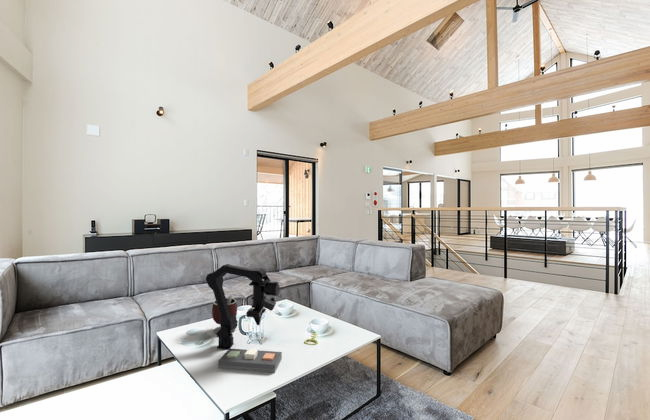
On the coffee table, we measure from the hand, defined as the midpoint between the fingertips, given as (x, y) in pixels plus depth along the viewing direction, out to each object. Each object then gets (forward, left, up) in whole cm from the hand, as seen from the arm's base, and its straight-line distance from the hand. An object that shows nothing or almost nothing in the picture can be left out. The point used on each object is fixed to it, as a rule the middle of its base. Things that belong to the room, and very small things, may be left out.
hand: (258, 325), depth 156 cm
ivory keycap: (+1, -13, -10) cm, 16 cm away
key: (+26, +16, -14) cm, 33 cm away
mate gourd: (-27, +22, -13) cm, 37 cm away
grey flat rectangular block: (+1, -13, -13) cm, 18 cm away
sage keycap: (-8, -13, -11) cm, 19 cm away
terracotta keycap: (+9, -13, -11) cm, 20 cm away
